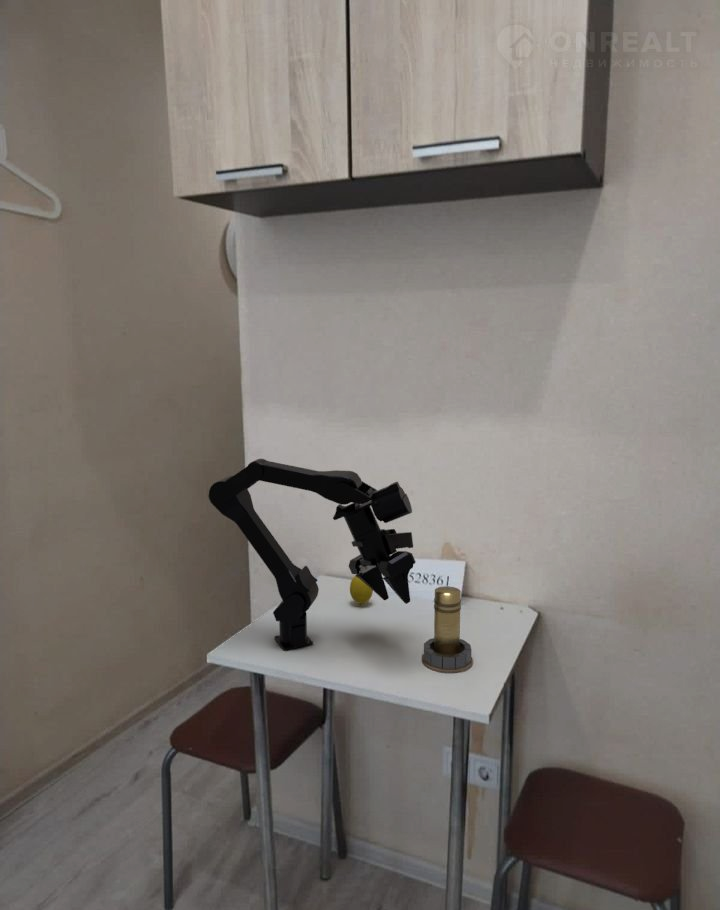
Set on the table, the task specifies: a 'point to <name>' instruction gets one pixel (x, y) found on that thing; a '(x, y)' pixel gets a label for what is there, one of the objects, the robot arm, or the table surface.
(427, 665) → the collar plate
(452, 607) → the piston
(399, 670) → the table surface
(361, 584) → the lemon
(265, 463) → the robot arm
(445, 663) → the collar
